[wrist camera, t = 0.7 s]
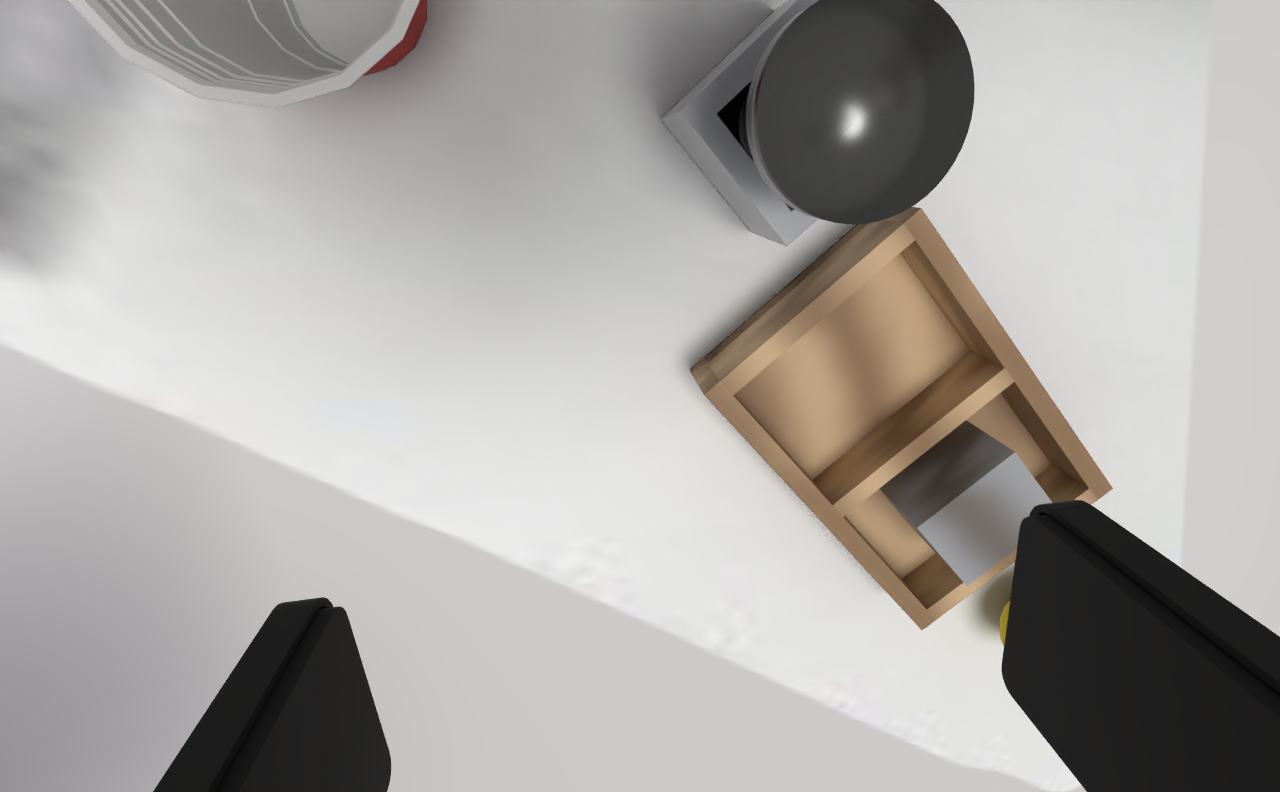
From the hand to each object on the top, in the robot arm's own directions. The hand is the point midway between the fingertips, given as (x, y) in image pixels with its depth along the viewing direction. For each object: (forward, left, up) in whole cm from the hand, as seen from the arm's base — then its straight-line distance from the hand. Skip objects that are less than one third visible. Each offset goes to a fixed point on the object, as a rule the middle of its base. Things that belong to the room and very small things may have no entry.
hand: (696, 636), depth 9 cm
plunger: (-11, -1, -23) cm, 25 cm away
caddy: (-7, +16, -26) cm, 32 cm away
